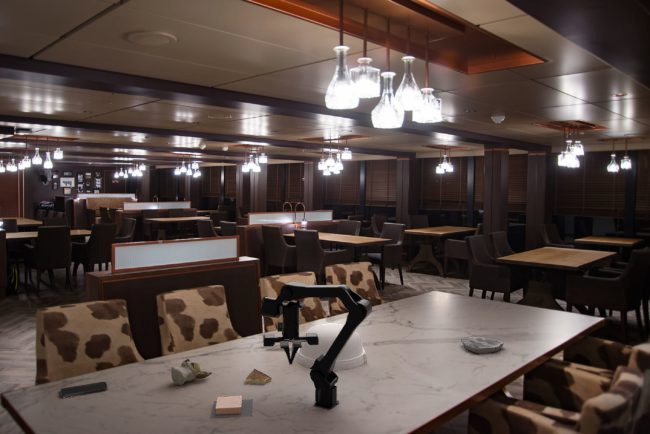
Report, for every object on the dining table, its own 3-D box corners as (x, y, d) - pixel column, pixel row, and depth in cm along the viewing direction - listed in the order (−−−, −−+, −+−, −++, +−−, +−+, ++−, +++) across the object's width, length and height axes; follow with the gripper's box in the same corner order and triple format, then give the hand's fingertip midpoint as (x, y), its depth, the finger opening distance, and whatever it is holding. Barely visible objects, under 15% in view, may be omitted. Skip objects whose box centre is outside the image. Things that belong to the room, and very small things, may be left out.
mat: (252, 400, 171) (252, 399, 171) (252, 416, 158) (252, 415, 158) (214, 402, 170) (214, 401, 170) (210, 419, 157) (210, 418, 157)
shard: (254, 373, 199) (254, 367, 199) (276, 374, 197) (276, 369, 197) (243, 385, 186) (243, 379, 186) (267, 387, 184) (267, 381, 184)
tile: (242, 395, 169) (217, 397, 168) (241, 407, 160) (215, 408, 159) (242, 402, 169) (217, 403, 168) (241, 413, 160) (215, 415, 159)
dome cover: (282, 364, 207) (282, 331, 207) (310, 344, 235) (310, 315, 235) (356, 375, 196) (356, 339, 195) (376, 352, 224) (376, 321, 223)
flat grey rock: (479, 340, 243) (479, 334, 243) (509, 349, 229) (509, 343, 228) (451, 347, 232) (451, 341, 232) (480, 357, 218) (480, 350, 218)
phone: (107, 388, 179) (60, 396, 172) (107, 391, 179) (60, 399, 172) (105, 381, 186) (60, 388, 179) (105, 384, 186) (60, 391, 179)
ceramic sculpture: (163, 359, 186) (196, 352, 198) (162, 383, 186) (195, 374, 198) (180, 366, 180) (214, 358, 191) (179, 390, 180) (213, 380, 191)
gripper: (315, 313, 181) (314, 355, 181) (263, 314, 178) (262, 357, 179) (319, 320, 170) (318, 366, 170) (263, 322, 167) (263, 368, 168)
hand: (290, 364), depth 172 cm, fingers closed
